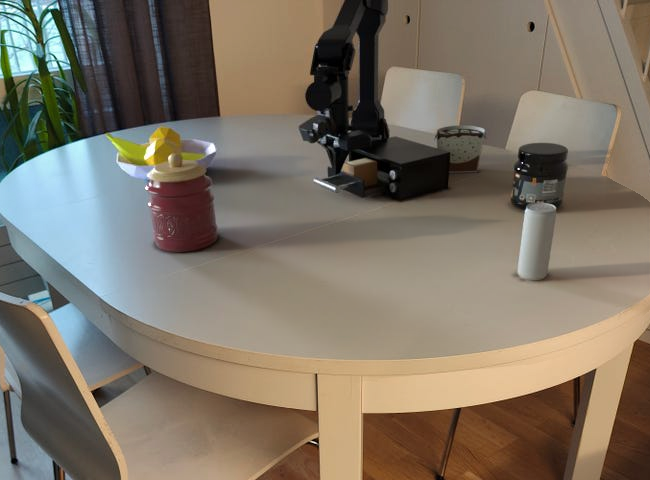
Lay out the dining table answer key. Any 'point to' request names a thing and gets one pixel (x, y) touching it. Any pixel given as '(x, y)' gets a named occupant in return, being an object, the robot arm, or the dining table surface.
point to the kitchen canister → (181, 205)
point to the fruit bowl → (160, 151)
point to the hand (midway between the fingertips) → (336, 173)
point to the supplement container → (539, 175)
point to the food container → (461, 146)
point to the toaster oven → (408, 166)
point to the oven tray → (354, 183)
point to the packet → (362, 170)
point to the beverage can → (536, 241)
